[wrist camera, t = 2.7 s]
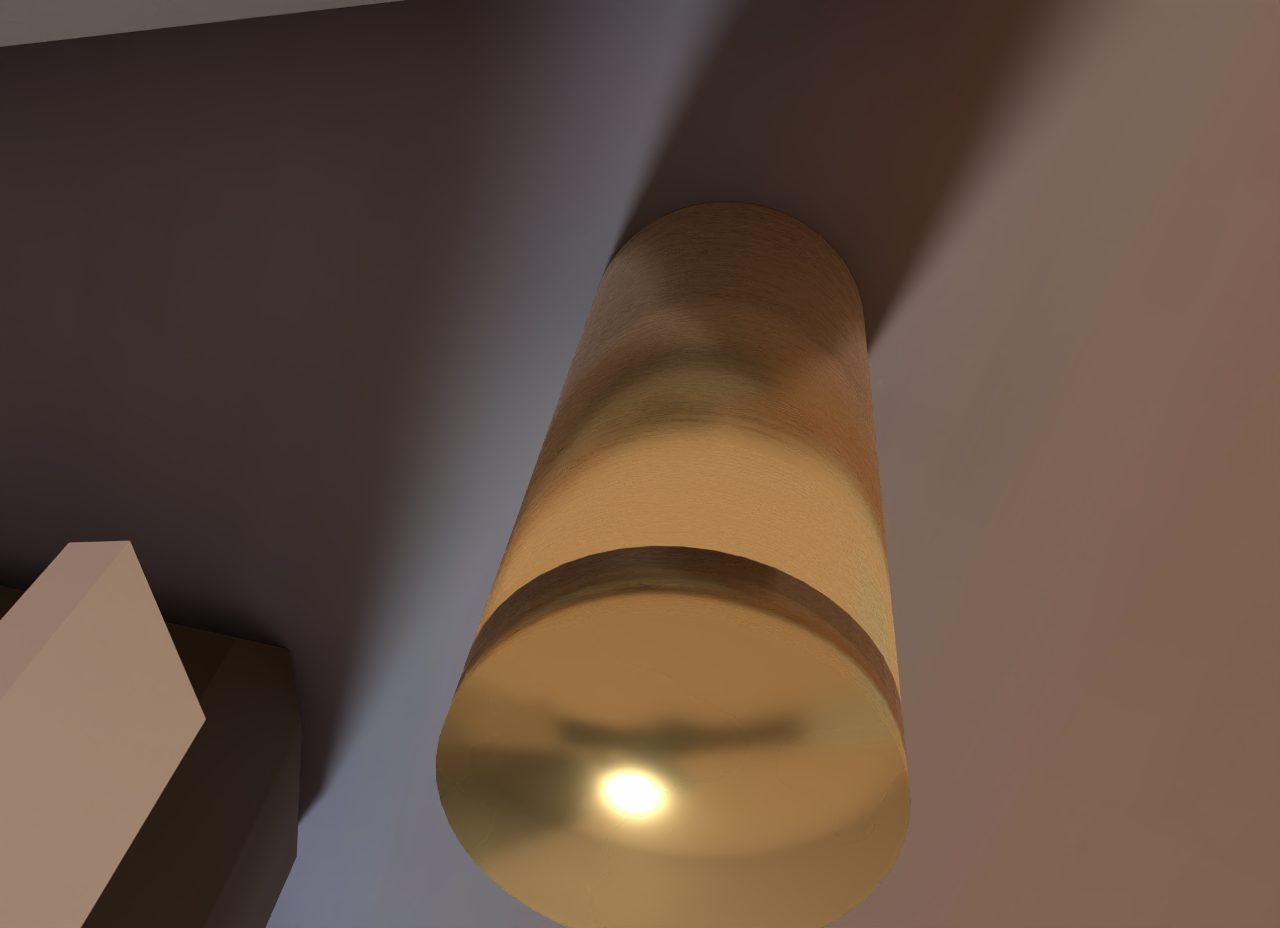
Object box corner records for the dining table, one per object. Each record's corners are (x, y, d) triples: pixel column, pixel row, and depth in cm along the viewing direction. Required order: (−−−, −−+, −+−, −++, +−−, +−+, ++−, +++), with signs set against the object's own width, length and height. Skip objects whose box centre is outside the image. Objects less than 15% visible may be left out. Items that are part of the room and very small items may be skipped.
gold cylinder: (611, 454, 21) (484, 950, 13) (573, 213, 19) (386, 622, 11) (869, 442, 20) (912, 957, 12) (860, 190, 18) (908, 608, 10)
